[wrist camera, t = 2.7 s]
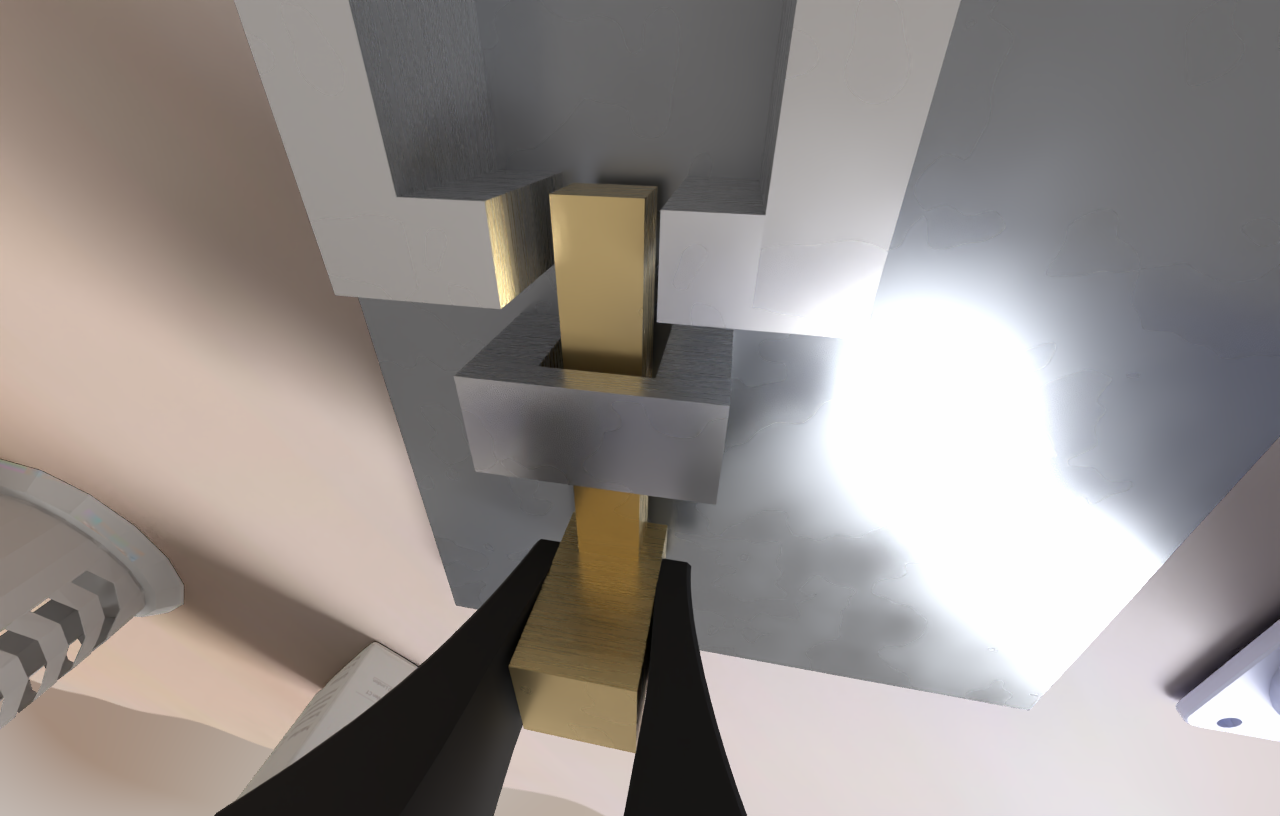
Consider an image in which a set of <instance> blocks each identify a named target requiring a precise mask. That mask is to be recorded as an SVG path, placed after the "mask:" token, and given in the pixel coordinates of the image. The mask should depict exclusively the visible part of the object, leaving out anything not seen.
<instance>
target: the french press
mask: <svg viewBox="0 0 1280 816" xmlns="http://www.w3.org/2000/svg"><path fill="white" fill-rule="evenodd" d="M47 598H49V599H51V600H50V601H49V602H47V603H46V604H44V605H43V606H42V607H40V608H39V609H37V610H36V611H35V612H31V610H32V609H33V608H35V607H36V606H38V605H39V604H40V603H42V602H43V601H44V600H46V599H47ZM182 604H184V585H183V583H182V581H181V580H180V578H179V576H178V575H177V573H176V571H175V570H174V568H173V566H172V565H171V563H170V561H169V560H168V558H167V557H166V556H165V555H164V554H163V553H162V552H161V551H160V550H159V549H158V548H157V547H156V546H155V545H154V544H152V543H151V542H150V541H149V540H148V539H147V538H146V537H145V536H144V535H143V534H142V533H141V532H140V531H139V530H138V529H137V528H136V527H135V526H134V525H132V524H131V523H129V522H128V521H126V520H125V519H124V518H122V517H121V516H119V515H118V514H116V513H115V512H114V511H112V510H111V509H109V508H108V507H106V506H105V505H104V504H102V503H101V502H99V501H98V500H96V499H95V498H94V497H92V496H91V495H89V494H87V493H85V492H83V491H81V490H79V489H77V488H75V487H73V486H71V485H69V484H67V483H65V482H63V481H61V480H59V479H57V478H55V477H53V476H51V475H49V474H47V473H45V472H43V471H41V470H37V469H34V468H30V467H27V466H23V465H19V464H16V463H12V462H9V461H5V460H1V459H0V632H1V631H2V630H4V629H6V630H8V631H7V632H5V633H4V634H3V635H1V636H0V701H1V700H2V699H3V698H4V700H3V704H2V708H1V712H0V729H1V728H2V727H4V726H5V725H6V724H7V723H8V722H10V721H11V720H12V719H13V718H15V717H16V714H17V712H20V711H22V710H23V709H24V708H25V707H27V706H28V705H29V704H31V703H32V702H33V701H34V700H35V699H37V698H38V697H39V696H40V695H41V694H43V693H44V692H45V691H46V690H48V689H49V688H50V687H51V686H52V685H54V684H55V683H56V682H57V680H58V679H60V678H61V677H62V676H64V675H65V674H67V673H68V672H69V671H71V670H72V669H73V668H74V667H76V666H77V665H78V664H79V663H80V662H82V661H83V660H84V659H85V658H86V657H87V656H89V655H90V654H91V652H92V651H94V650H95V649H96V648H97V647H99V646H100V645H101V644H103V643H104V642H105V641H106V640H108V639H109V638H110V637H111V636H112V635H113V634H114V633H116V632H117V631H118V630H119V629H120V628H121V627H122V626H124V625H125V624H126V623H127V622H128V621H129V620H131V619H132V618H133V617H134V616H135V617H145V616H151V615H157V614H163V613H169V612H170V611H172V610H174V609H175V608H177V607H179V606H181V605H182ZM76 639H79V641H80V643H81V644H82V646H81V648H80V650H79V652H78V654H77V657H76V659H75V661H74V663H73V662H72V661H70V660H68V658H67V655H66V654H67V651H68V648H69V645H70V644H72V643H73V642H74V641H75V640H76ZM43 666H45V668H46V670H45V674H44V677H43V681H42V684H41V686H40V688H39V690H38V692H37V693H36V692H35V691H33V690H32V687H31V684H30V680H29V677H31V676H32V675H33V674H34V673H36V672H37V671H38V670H39V669H41V668H42V667H43Z"/></svg>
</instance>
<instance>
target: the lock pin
mask: <svg viewBox="0 0 1280 816" xmlns="http://www.w3.org/2000/svg"><path fill="white" fill-rule="evenodd" d="M657 192H658V186H642V185H618V184H594V183H572V184H570V185H568V186H566V187H563V188H561V189H559V190H557V191H555V192H553V193H551V194H549V200H550V212H551V224H552V236H553V248H554V260H555V272H556V284H557V296H558V308H559V320H560V332H561V344H562V356H563V368H564V369H568V370H578V371H588V372H598V373H608V374H618V375H628V376H637V377H647V378H652V357H653V324H654V291H655V258H656V225H657ZM573 488H574V500H575V512H573V514H572V516H571V519H570V521H569V523H568V526H567V528H566V530H565V533H564V535H563V538H562V540H561V542H560V545H559V547H558V550H557V552H556V554H555V557H554V559H553V561H552V566H551V568H550V570H549V572H548V574H547V576H546V578H545V581H544V583H543V585H542V588H541V590H540V592H539V595H538V597H537V600H536V602H535V604H534V607H533V609H532V612H531V614H530V616H529V619H528V621H527V623H526V626H525V628H524V631H523V633H522V635H521V638H520V640H519V643H518V645H517V647H516V650H515V652H514V654H513V657H512V659H511V662H510V664H509V666H508V667H509V671H510V675H511V679H512V683H513V687H514V691H515V695H516V699H517V703H518V707H519V711H520V715H521V719H522V723H523V727H524V729H527V730H532V731H536V732H541V733H545V734H550V735H555V736H559V737H564V738H568V739H573V740H577V741H582V742H586V743H591V744H596V745H600V746H605V747H609V748H614V749H618V750H623V751H628V752H632V753H636V748H637V743H638V737H639V732H640V726H641V720H642V714H643V708H644V702H645V696H646V690H647V683H648V675H649V663H650V651H651V638H652V626H653V614H654V602H655V590H656V583H657V581H658V576H659V571H660V567H661V562H662V558H664V559H666V543H667V527H668V525H662V524H655V523H648V495H641V494H634V493H626V492H619V491H612V490H605V489H597V488H590V487H583V486H576V485H573Z"/></svg>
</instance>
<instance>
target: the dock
mask: <svg viewBox="0 0 1280 816" xmlns="http://www.w3.org/2000/svg"><path fill="white" fill-rule="evenodd" d="M234 2H235V5H236V8H237V11H238V14H239V17H240V20H241V23H242V26H243V28H244V31H245V34H246V37H247V40H248V43H249V46H250V49H251V52H252V55H253V58H254V60H255V63H256V66H257V69H258V72H259V75H260V78H261V81H262V84H263V87H264V90H265V92H266V95H267V98H268V101H269V104H270V107H271V110H272V113H273V116H274V119H275V122H276V124H277V127H278V130H279V133H280V136H281V139H282V142H283V145H284V148H285V151H286V154H287V156H288V159H289V162H290V165H291V168H292V171H293V174H294V177H295V180H296V183H297V186H298V188H299V191H300V194H301V197H302V200H303V203H304V206H305V209H306V212H307V215H308V218H309V220H310V223H311V226H312V229H313V232H314V235H315V238H316V241H317V244H318V247H319V250H320V252H321V255H322V258H323V261H324V264H325V267H326V270H327V273H328V276H329V279H330V282H331V284H332V287H333V290H334V293H335V295H337V296H349V297H358V298H359V302H360V305H361V308H362V311H363V314H364V317H365V320H366V324H367V327H368V330H369V333H370V336H371V339H372V342H373V346H374V349H375V352H376V355H377V358H378V361H379V365H380V368H381V371H382V374H383V377H384V380H385V383H386V387H387V390H388V393H389V396H390V399H391V402H392V405H393V409H394V412H395V415H396V418H397V421H398V424H399V428H400V431H401V434H402V437H403V440H404V443H405V446H406V450H407V453H408V456H409V459H410V462H411V465H412V468H413V472H414V475H415V478H416V481H417V484H418V487H419V490H420V494H421V497H422V500H423V503H424V506H425V509H426V513H427V516H428V519H429V522H430V525H431V528H432V531H433V535H434V538H435V541H436V544H437V547H438V550H439V553H440V557H441V560H442V563H443V566H444V569H445V572H446V576H447V579H448V582H449V585H450V588H451V591H452V594H453V598H454V601H455V604H456V606H462V607H467V608H473V609H479V608H480V607H481V606H482V605H483V604H484V602H485V601H486V600H487V599H488V598H489V597H490V596H491V595H492V594H493V593H494V592H495V591H496V589H497V588H498V587H499V586H500V585H501V584H502V583H503V582H504V581H505V579H506V578H507V577H508V576H509V575H510V574H511V573H512V571H513V570H514V569H515V568H516V567H517V566H518V564H519V563H520V562H521V561H522V560H523V558H524V557H525V556H526V555H527V554H528V552H529V551H530V550H531V549H532V547H533V546H534V545H535V544H536V542H537V541H539V540H540V539H545V540H552V541H558V542H561V540H562V538H563V535H564V533H565V530H566V528H567V526H568V523H569V521H570V519H571V516H572V514H573V512H575V500H574V488H573V485H576V486H583V487H590V488H597V489H605V490H612V491H619V492H626V493H634V494H641V495H648V523H655V524H662V525H668V527H667V543H666V559H671V560H677V561H683V562H688V563H689V564H690V565H691V595H692V606H693V614H694V622H695V628H696V634H697V640H698V645H699V650H702V651H707V652H713V653H718V654H724V655H729V656H735V657H740V658H745V659H751V660H756V661H762V662H767V663H773V664H778V665H784V666H789V667H795V668H800V669H805V670H811V671H816V672H822V673H827V674H833V675H838V676H844V677H849V678H855V679H860V680H865V681H871V682H876V683H882V684H887V685H893V686H898V687H904V688H909V689H915V690H920V691H925V692H931V693H936V694H942V695H947V696H953V697H958V698H964V699H969V700H975V701H980V702H985V703H991V704H996V705H1002V706H1007V707H1013V708H1018V709H1024V710H1030V709H1031V708H1032V707H1033V706H1034V705H1035V704H1036V702H1037V701H1038V700H1039V699H1040V698H1041V697H1042V696H1043V695H1044V694H1045V693H1046V692H1047V690H1048V689H1049V688H1050V687H1051V686H1052V685H1053V684H1054V683H1055V682H1056V681H1057V680H1058V678H1059V677H1060V676H1061V675H1062V674H1063V673H1064V672H1065V671H1066V670H1067V669H1068V667H1069V666H1070V665H1071V664H1072V663H1073V662H1074V661H1075V660H1076V659H1077V658H1078V657H1079V655H1080V654H1081V653H1082V652H1083V651H1084V650H1085V649H1086V648H1087V647H1088V646H1089V645H1090V643H1091V642H1092V641H1093V640H1094V639H1095V638H1096V637H1097V636H1098V635H1099V634H1100V632H1101V631H1102V630H1103V629H1104V628H1105V627H1106V626H1107V625H1108V624H1109V623H1110V622H1111V620H1112V619H1113V618H1114V617H1115V616H1116V615H1117V614H1118V613H1119V612H1120V611H1121V609H1122V608H1123V607H1124V606H1125V605H1126V604H1127V603H1128V602H1129V601H1130V600H1131V599H1132V597H1133V596H1134V595H1135V594H1136V593H1137V592H1138V591H1139V590H1140V589H1141V588H1142V587H1143V585H1144V584H1145V583H1146V582H1147V581H1148V580H1149V579H1150V578H1151V577H1152V576H1153V574H1154V573H1155V572H1156V571H1157V570H1158V569H1159V568H1160V567H1161V566H1162V565H1163V564H1164V562H1165V561H1166V560H1167V559H1168V558H1169V557H1170V556H1171V555H1172V554H1173V553H1174V552H1175V550H1176V549H1177V548H1178V547H1179V546H1180V545H1181V544H1182V543H1183V542H1184V541H1185V539H1186V538H1187V537H1188V536H1189V535H1190V534H1191V533H1192V532H1193V531H1194V530H1195V529H1196V527H1197V526H1198V525H1199V524H1200V523H1201V522H1202V521H1203V520H1204V519H1205V518H1206V516H1207V515H1208V514H1209V513H1210V512H1211V511H1212V510H1213V509H1214V508H1215V507H1216V506H1217V504H1218V503H1219V502H1220V501H1221V500H1222V499H1223V498H1224V497H1225V496H1226V495H1227V494H1228V492H1229V491H1230V490H1231V489H1232V488H1233V487H1234V486H1235V485H1236V484H1237V483H1238V481H1239V480H1240V479H1241V478H1242V477H1243V476H1244V475H1245V474H1246V473H1247V472H1248V471H1249V469H1250V468H1251V467H1252V466H1253V465H1254V464H1255V463H1256V462H1257V461H1258V460H1259V459H1260V457H1261V456H1262V455H1263V454H1264V453H1265V452H1266V451H1267V450H1268V449H1269V448H1270V446H1271V445H1272V444H1273V443H1274V442H1275V441H1276V440H1277V439H1278V438H1279V437H1280V0H234ZM572 183H594V184H618V185H642V186H658V192H657V225H656V258H655V291H654V324H653V357H652V378H647V377H637V376H628V375H618V374H608V373H598V372H588V371H578V370H568V369H564V368H563V356H562V344H561V332H560V320H559V308H558V296H557V284H556V272H555V260H554V248H553V236H552V224H551V212H550V200H549V194H551V193H553V192H555V191H557V190H559V189H561V188H563V187H566V186H568V185H570V184H572Z"/></svg>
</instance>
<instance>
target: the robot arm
mask: <svg viewBox="0 0 1280 816" xmlns="http://www.w3.org/2000/svg"><path fill="white" fill-rule="evenodd" d="M559 545H560V542H558V541H552V540H545V539H540V540H539V541H537V542H536V544H535V545H534V546H533V547H532V549H531V550H530V551H529V552H528V554H527V555H526V556H525V557H524V558H523V560H522V561H521V562H520V563H519V564H518V566H517V567H516V568H515V569H514V570H513V571H512V573H511V574H510V575H509V576H508V577H507V578H506V579H505V581H504V582H503V583H502V584H501V585H500V586H499V587H498V588H497V589H496V591H495V592H494V593H493V594H492V595H491V596H490V597H489V598H488V599H487V600H486V601H485V602H484V604H483V605H482V606H481V607H480V608H479V609H478V610H477V611H476V612H475V613H474V614H473V615H472V616H471V617H470V618H469V619H468V620H467V621H466V622H465V623H464V624H463V625H462V626H461V627H460V628H459V629H458V630H457V631H456V632H455V633H454V634H453V635H452V636H451V637H450V638H449V639H448V640H447V641H446V642H445V643H444V644H443V645H442V646H441V647H440V648H439V649H438V650H437V651H435V652H434V653H433V654H432V655H431V656H430V657H429V658H428V659H427V660H426V661H425V662H423V663H422V664H421V665H420V666H419V667H418V668H417V669H415V670H414V671H413V672H412V673H411V674H410V675H409V676H407V677H406V678H405V679H404V680H403V681H402V682H400V683H399V684H398V685H397V686H396V687H394V688H393V689H392V690H391V691H389V692H388V693H387V694H386V695H384V696H383V697H382V698H381V699H380V700H378V701H377V702H376V703H375V704H373V705H372V706H371V707H370V708H368V709H367V710H366V711H364V712H363V713H362V714H361V715H359V716H358V717H357V718H355V719H354V720H353V721H351V722H350V723H349V724H347V725H346V726H345V727H343V728H342V729H340V730H339V731H338V732H336V733H335V734H333V735H332V736H331V737H329V738H328V739H327V740H325V741H324V742H322V743H321V744H320V745H318V746H317V747H315V748H314V749H313V750H311V751H310V752H308V753H307V754H306V755H304V756H303V757H301V758H300V759H299V760H297V761H296V762H294V763H293V764H291V765H290V766H288V767H287V768H285V769H284V770H282V771H281V772H279V773H278V774H276V775H274V776H273V777H271V778H270V779H268V780H267V781H265V782H264V783H262V784H261V785H259V786H257V787H256V788H254V789H253V790H251V791H250V792H248V793H247V794H245V795H244V796H242V797H241V798H239V799H237V800H236V801H234V802H233V803H231V804H230V805H228V806H226V807H225V808H224V809H222V810H220V811H219V812H217V813H216V814H215V816H494V813H495V809H496V806H497V802H498V799H499V795H500V792H501V789H502V786H503V783H504V779H505V776H506V773H507V770H508V766H509V763H510V760H511V757H512V753H513V750H514V747H515V745H516V742H517V739H518V736H519V733H520V731H521V728H522V725H523V723H522V719H521V715H520V711H519V707H518V703H517V699H516V695H515V691H514V687H513V683H512V679H511V675H510V671H509V667H508V666H509V664H510V662H511V659H512V657H513V654H514V652H515V650H516V647H517V645H518V643H519V640H520V638H521V635H522V633H523V631H524V628H525V626H526V623H527V621H528V619H529V616H530V614H531V612H532V609H533V607H534V604H535V602H536V600H537V597H538V595H539V592H540V590H541V588H542V585H543V583H544V581H545V578H546V576H547V574H548V572H549V570H550V568H551V566H552V561H553V559H554V557H555V554H556V552H557V550H558V547H559ZM1176 710H1177V711H1178V712H1179V714H1180V715H1181V717H1182V718H1183V719H1184V721H1185V722H1187V723H1188V724H1191V725H1193V726H1197V727H1202V728H1207V729H1213V730H1218V731H1224V732H1230V733H1235V734H1241V735H1246V736H1252V737H1257V738H1263V739H1269V740H1274V741H1280V619H1279V620H1278V621H1277V622H1275V623H1274V624H1273V625H1272V626H1271V627H1269V628H1268V629H1267V630H1266V631H1264V632H1263V633H1262V634H1261V635H1259V636H1258V637H1257V638H1256V639H1255V640H1253V641H1252V642H1251V643H1250V644H1248V645H1247V646H1246V647H1245V648H1243V649H1242V650H1241V651H1240V652H1239V653H1237V654H1236V655H1235V656H1234V657H1232V658H1231V659H1230V660H1229V661H1227V662H1226V663H1225V664H1224V665H1223V666H1221V667H1220V668H1219V669H1218V670H1216V671H1215V672H1214V673H1213V674H1212V675H1210V676H1209V677H1208V678H1207V679H1205V680H1204V681H1203V682H1202V683H1200V684H1199V685H1198V686H1197V687H1196V688H1194V689H1193V690H1192V691H1191V692H1189V693H1188V694H1187V695H1186V696H1184V697H1183V698H1182V699H1181V700H1180V701H1179V702H1178V703H1177V704H1176ZM624 816H747V814H746V811H745V809H744V806H743V803H742V800H741V798H740V795H739V792H738V789H737V786H736V783H735V780H734V777H733V774H732V771H731V768H730V765H729V762H728V759H727V756H726V752H725V749H724V746H723V742H722V739H721V736H720V732H719V729H718V726H717V722H716V718H715V715H714V711H713V707H712V703H711V700H710V695H709V691H708V687H707V683H706V679H705V675H704V670H703V666H702V661H701V656H700V650H699V645H698V640H697V634H696V628H695V622H694V614H693V606H692V595H691V565H690V564H689V563H688V562H683V561H677V560H671V559H664V558H662V562H661V567H660V571H659V576H658V581H657V583H656V590H655V602H654V614H653V626H652V638H651V651H650V663H649V675H648V683H647V691H646V698H645V704H644V709H643V715H642V721H641V726H640V732H639V737H638V743H637V748H636V753H635V759H634V764H633V769H632V775H631V780H630V786H629V791H628V796H627V802H626V807H625V812H624Z"/></svg>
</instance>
